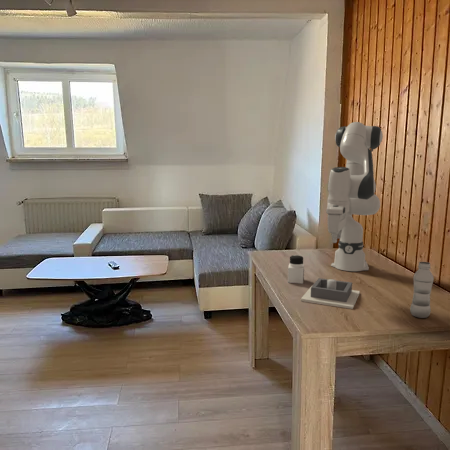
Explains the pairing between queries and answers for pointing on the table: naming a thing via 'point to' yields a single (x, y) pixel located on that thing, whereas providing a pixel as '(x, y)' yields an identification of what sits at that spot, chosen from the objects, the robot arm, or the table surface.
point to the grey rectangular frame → (331, 290)
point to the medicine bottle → (296, 269)
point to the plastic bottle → (422, 291)
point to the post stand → (332, 285)
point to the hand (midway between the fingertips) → (336, 240)
